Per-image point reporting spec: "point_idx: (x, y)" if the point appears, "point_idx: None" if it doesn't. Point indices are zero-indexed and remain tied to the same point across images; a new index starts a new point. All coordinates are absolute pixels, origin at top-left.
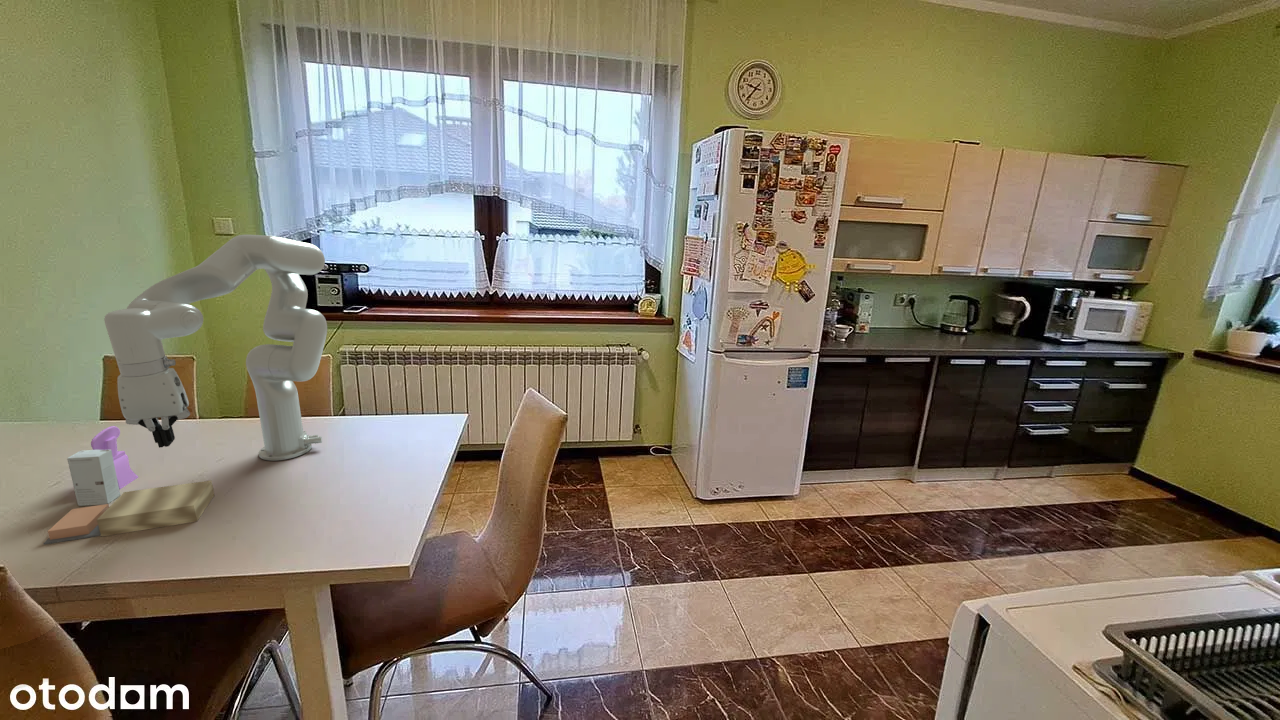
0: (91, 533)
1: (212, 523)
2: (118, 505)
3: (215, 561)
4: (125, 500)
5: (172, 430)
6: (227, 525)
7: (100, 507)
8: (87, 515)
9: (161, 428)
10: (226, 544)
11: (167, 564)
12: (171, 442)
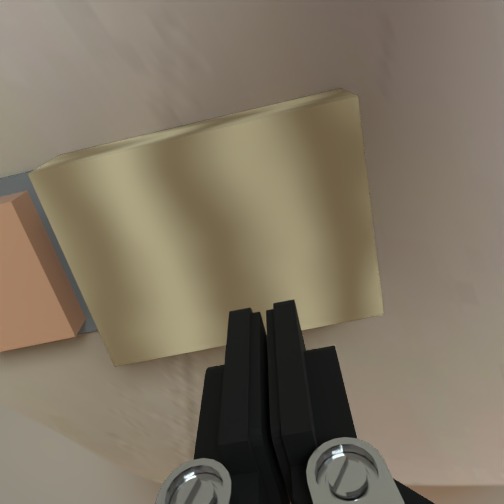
0: (91, 317)
1: (418, 296)
2: (106, 285)
3: (489, 452)
4: (99, 250)
5: (351, 416)
6: (468, 312)
7: (6, 226)
8: (16, 278)
9: (271, 482)
10: (494, 397)
11: (385, 450)
12: (301, 333)
